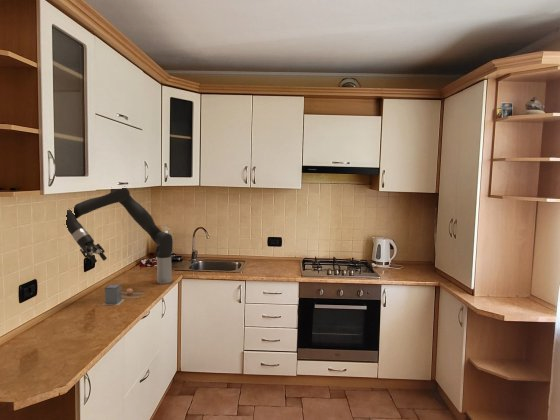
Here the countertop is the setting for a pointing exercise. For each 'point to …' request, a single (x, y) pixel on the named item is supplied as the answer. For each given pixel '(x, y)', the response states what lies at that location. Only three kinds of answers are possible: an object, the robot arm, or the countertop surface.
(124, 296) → the walnut board
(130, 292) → the pink rounded lump
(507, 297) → the countertop surface
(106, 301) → the grey upright block
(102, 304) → the rubber mat
